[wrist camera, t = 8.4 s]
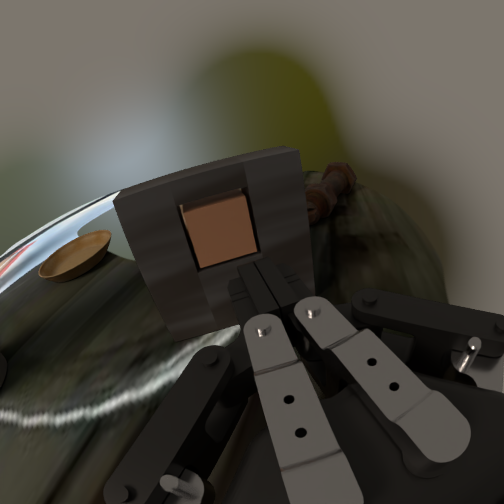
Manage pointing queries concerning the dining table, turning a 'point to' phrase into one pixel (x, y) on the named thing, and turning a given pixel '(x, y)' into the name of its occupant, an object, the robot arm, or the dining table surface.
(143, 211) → the frame
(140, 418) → the dining table surface
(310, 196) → the bolt
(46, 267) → the plant saucer
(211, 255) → the peg
